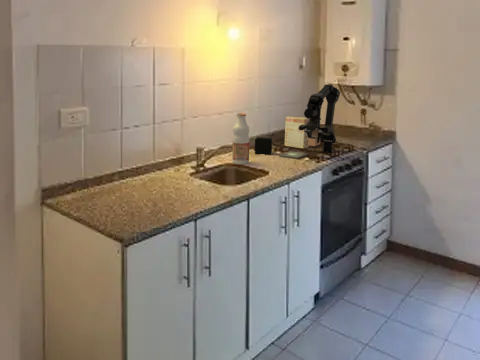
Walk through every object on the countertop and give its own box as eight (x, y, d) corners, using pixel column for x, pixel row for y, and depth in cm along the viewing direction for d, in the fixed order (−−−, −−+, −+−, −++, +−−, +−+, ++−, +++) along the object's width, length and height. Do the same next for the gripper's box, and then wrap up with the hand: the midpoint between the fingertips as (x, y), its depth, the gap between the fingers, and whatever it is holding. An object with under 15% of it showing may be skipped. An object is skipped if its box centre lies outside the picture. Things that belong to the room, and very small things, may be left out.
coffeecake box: (309, 147, 351) (310, 117, 346) (303, 148, 345) (304, 118, 340) (290, 144, 360) (291, 115, 355) (284, 145, 354) (285, 116, 350)
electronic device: (270, 155, 324) (271, 138, 321) (254, 154, 326) (254, 138, 323) (271, 153, 328) (272, 137, 325) (255, 152, 330) (256, 137, 327)
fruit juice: (229, 162, 302) (229, 113, 295) (242, 160, 307) (243, 112, 300) (238, 165, 294) (239, 115, 287) (252, 163, 300) (253, 114, 293)
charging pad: (290, 152, 332) (290, 151, 331) (308, 155, 326) (308, 153, 325) (279, 156, 319) (279, 155, 319) (297, 159, 313) (297, 157, 313)
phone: (313, 143, 321) (313, 136, 320) (320, 144, 318) (320, 137, 317) (307, 145, 314) (308, 138, 313) (314, 146, 312) (315, 139, 311)
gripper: (295, 116, 310) (294, 143, 314) (324, 119, 301) (323, 146, 305) (303, 114, 319) (302, 140, 323) (332, 117, 310) (330, 143, 314)
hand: (314, 142), depth 316 cm, fingers closed on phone, 4 cm apart
